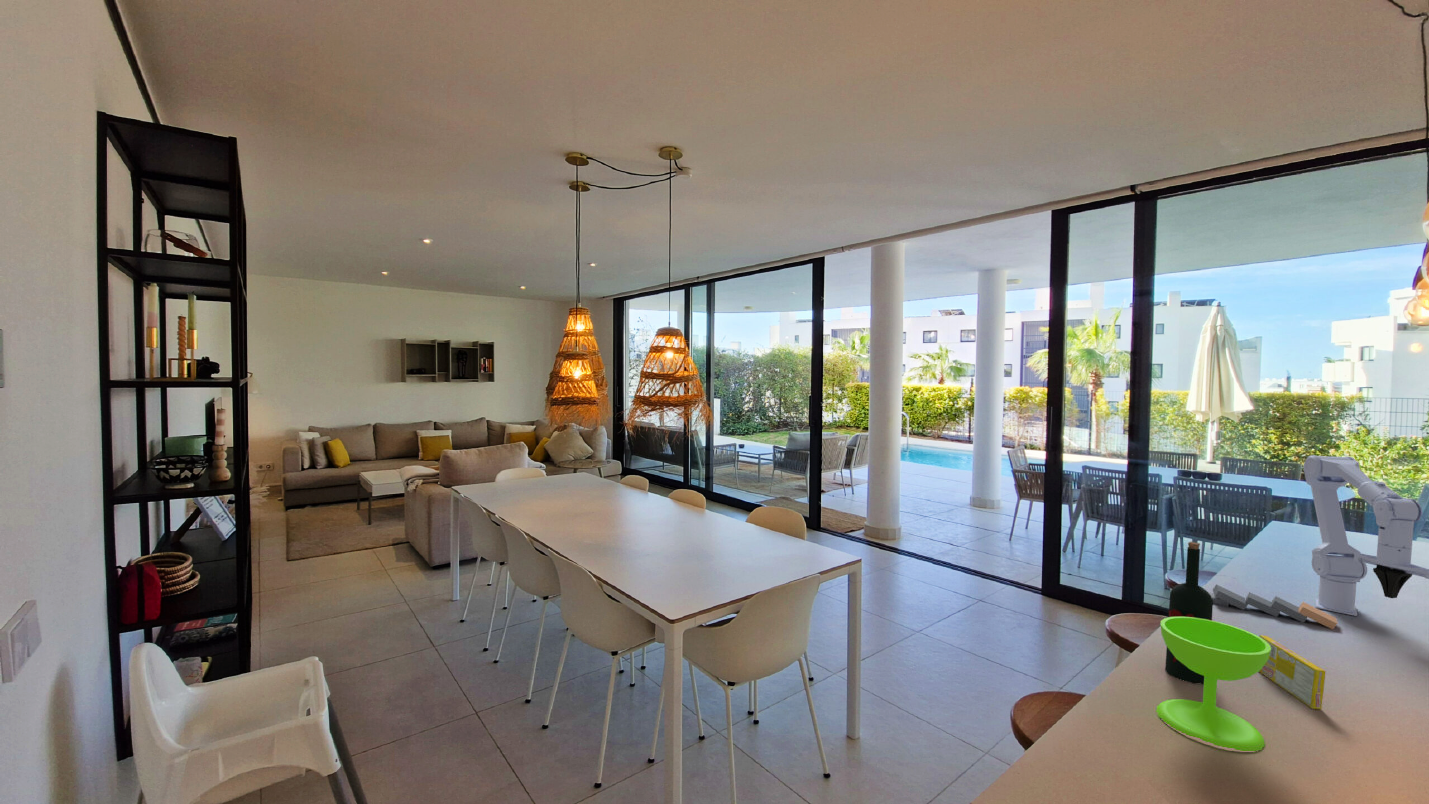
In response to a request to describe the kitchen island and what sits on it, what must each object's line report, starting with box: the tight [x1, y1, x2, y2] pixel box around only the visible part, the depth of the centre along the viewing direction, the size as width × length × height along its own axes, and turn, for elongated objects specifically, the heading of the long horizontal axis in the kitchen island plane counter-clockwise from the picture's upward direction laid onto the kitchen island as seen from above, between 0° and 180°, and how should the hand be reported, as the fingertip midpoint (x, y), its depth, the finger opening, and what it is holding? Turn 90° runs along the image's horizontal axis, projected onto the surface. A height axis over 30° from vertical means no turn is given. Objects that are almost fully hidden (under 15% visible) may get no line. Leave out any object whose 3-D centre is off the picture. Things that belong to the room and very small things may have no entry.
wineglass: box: [1155, 616, 1271, 752], centre depth 111 cm, size 16×16×18 cm
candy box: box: [1258, 634, 1326, 710], centre depth 125 cm, size 16×2×8 cm, turn 168°
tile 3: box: [1245, 592, 1281, 618], centre depth 166 cm, size 5×2×7 cm
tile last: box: [1207, 591, 1230, 607], centre depth 173 cm, size 5×2×7 cm
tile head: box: [1298, 601, 1338, 630], centre depth 158 cm, size 5×2×7 cm
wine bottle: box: [1164, 541, 1214, 685], centre depth 129 cm, size 8×10×30 cm
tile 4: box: [1212, 584, 1249, 611], centre depth 170 cm, size 5×2×7 cm
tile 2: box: [1271, 595, 1308, 624], centre depth 162 cm, size 5×2×7 cm
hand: (1390, 596), depth 150 cm, fingers closed
